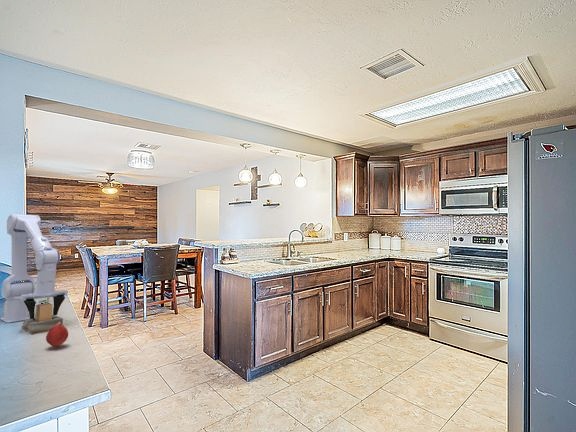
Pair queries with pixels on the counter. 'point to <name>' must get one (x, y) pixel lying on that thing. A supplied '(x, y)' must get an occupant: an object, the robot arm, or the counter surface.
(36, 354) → the counter surface
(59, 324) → the onion
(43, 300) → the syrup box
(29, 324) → the socket block
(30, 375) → the counter surface
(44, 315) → the peg
